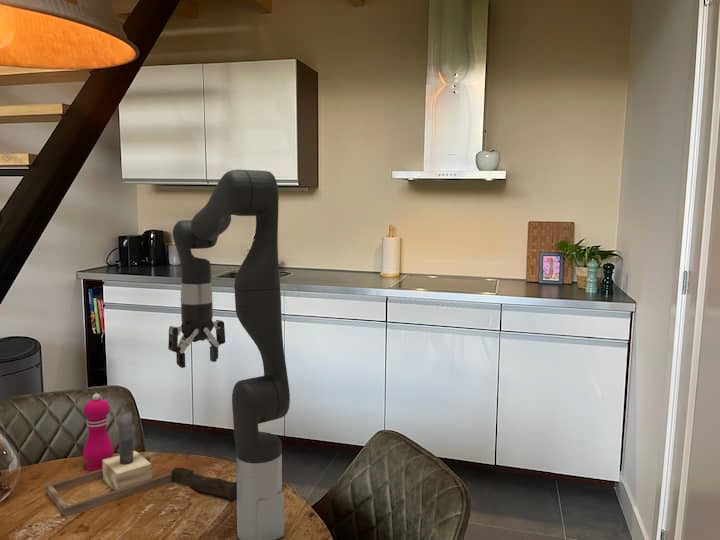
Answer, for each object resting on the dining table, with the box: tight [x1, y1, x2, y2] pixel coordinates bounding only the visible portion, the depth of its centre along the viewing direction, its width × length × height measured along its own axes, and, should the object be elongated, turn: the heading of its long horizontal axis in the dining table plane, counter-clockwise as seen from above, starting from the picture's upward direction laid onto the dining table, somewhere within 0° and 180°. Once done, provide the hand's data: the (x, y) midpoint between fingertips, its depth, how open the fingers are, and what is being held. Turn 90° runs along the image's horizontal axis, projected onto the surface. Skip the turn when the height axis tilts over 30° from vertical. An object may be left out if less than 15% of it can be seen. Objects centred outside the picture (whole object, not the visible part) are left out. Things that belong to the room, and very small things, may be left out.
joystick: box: [102, 411, 154, 491], centre depth 138 cm, size 10×8×17 cm
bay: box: [45, 455, 173, 518], centre depth 136 cm, size 14×24×3 cm, turn 133°
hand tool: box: [170, 467, 237, 502], centre depth 137 cm, size 19×4×5 cm, turn 66°
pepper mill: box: [82, 393, 115, 471], centre depth 147 cm, size 7×7×20 cm
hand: (198, 364), depth 144 cm, fingers open, 8 cm apart
